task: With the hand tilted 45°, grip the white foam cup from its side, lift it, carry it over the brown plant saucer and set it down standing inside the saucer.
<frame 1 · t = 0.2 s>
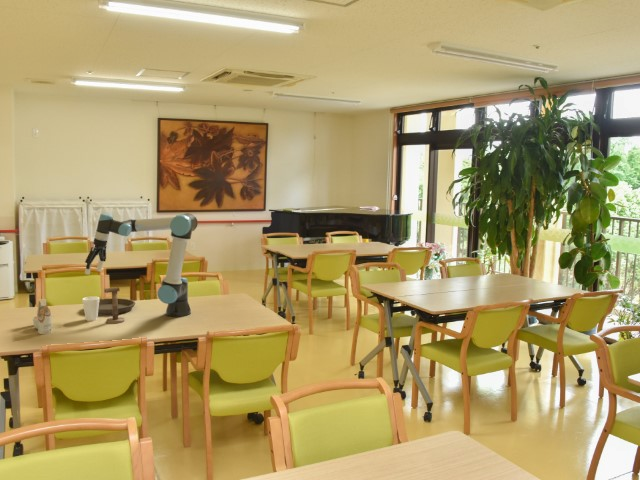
hand: (92, 272, 355), 27 cm above the table, tool pointing down, fingers open, 13 cm apart
foam cup: (91, 319, 351), on the table
walnut post: (115, 321, 348), on the table
plant saucer: (109, 310, 375), on the table
cosmetic set: (42, 328, 331), on the table
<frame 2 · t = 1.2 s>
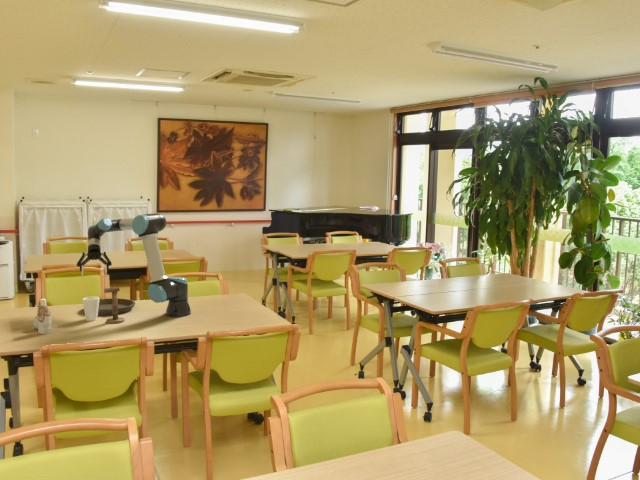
hand: (94, 274, 362), 24 cm above the table, tool tilted 45°, fingers open, 13 cm apart
nothing on the table moved.
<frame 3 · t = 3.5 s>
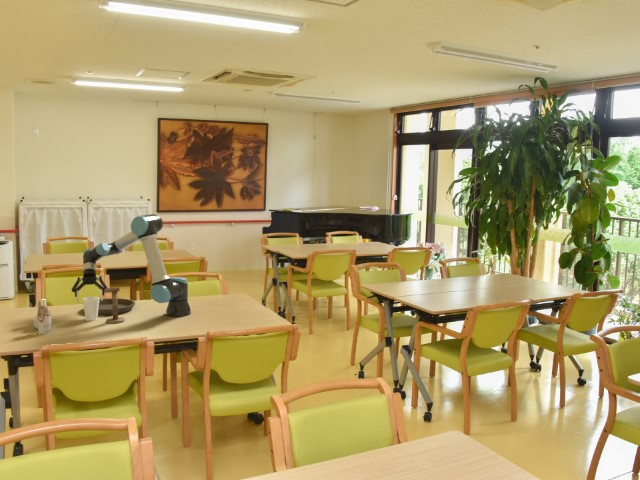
hand: (89, 300, 354), 11 cm above the table, tool tilted 45°, fingers open, 13 cm apart
nothing on the table moved.
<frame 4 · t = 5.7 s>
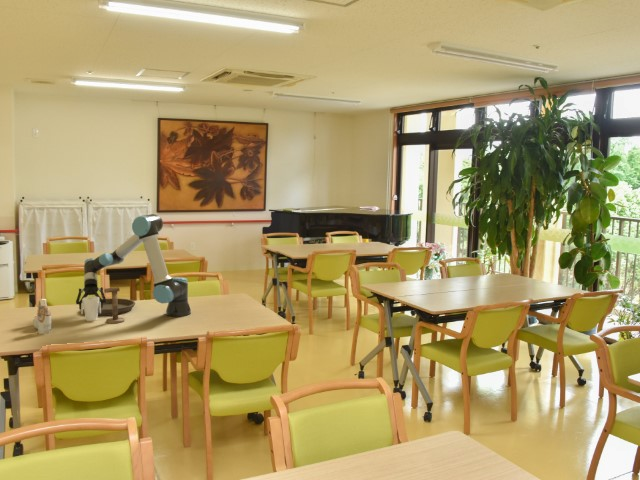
hand: (91, 312, 347), 5 cm above the table, tool tilted 45°, fingers closed on foam cup, 9 cm apart
foam cup: (91, 319, 351), on the table, touching gripper
everything else where it was.
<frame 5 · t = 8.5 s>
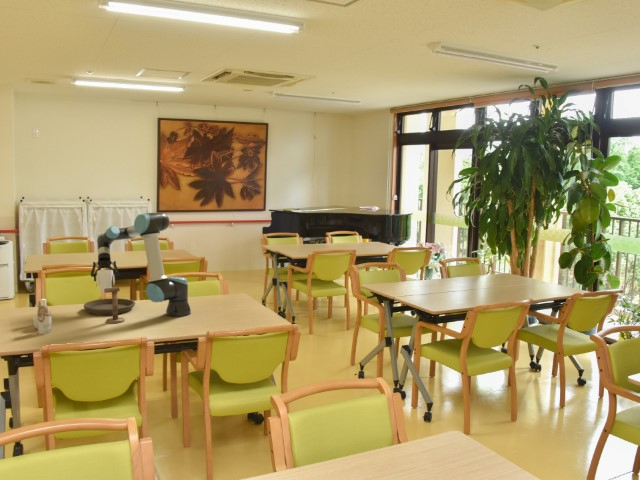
hand: (105, 284, 366), 18 cm above the table, tool tilted 45°, fingers closed on foam cup, 9 cm apart
foam cup: (105, 291, 369), point 13 cm above the table, touching gripper
everything else where it was.
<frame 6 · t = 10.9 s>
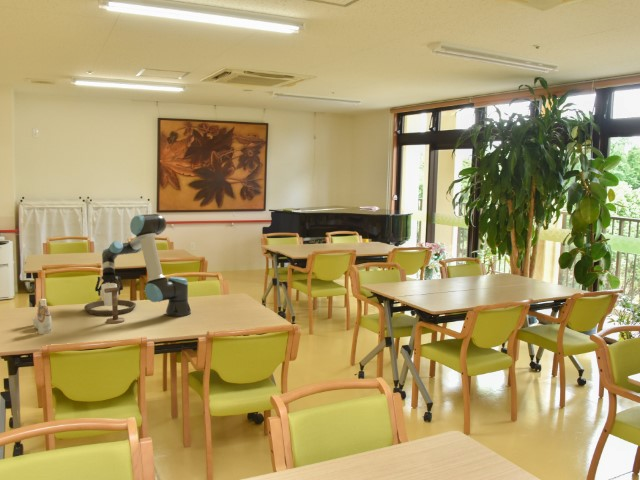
hand: (109, 299, 371), 8 cm above the table, tool tilted 45°, fingers closed on foam cup, 9 cm apart
foam cup: (109, 305, 374), point 3 cm above the table, touching gripper, plant saucer
plant saucer: (110, 311, 375), on the table, touching foam cup
everything else where it was.
when the fingers open (7 cm above the table, at t = 11.4 s): foam cup stays where it is, resting on plant saucer.
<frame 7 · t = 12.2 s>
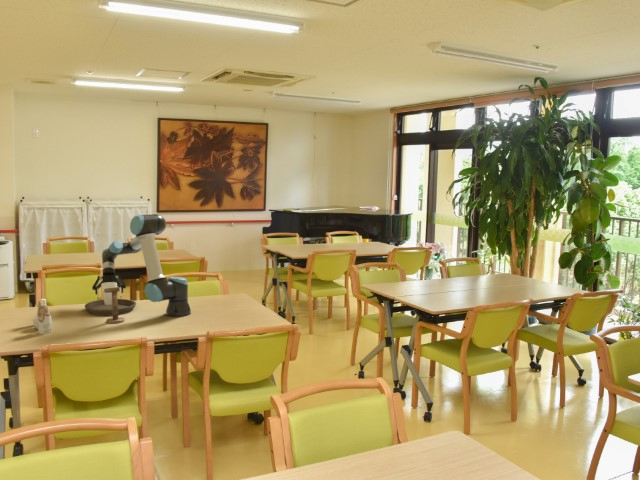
hand: (109, 297, 372), 8 cm above the table, tool tilted 45°, fingers open, 13 cm apart
foam cup: (109, 303, 374), point 4 cm above the table, touching plant saucer
everything else where it was.
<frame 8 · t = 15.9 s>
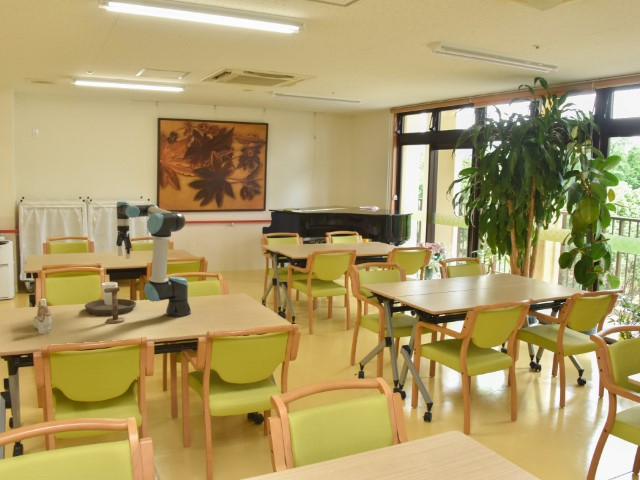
hand: (124, 257, 385), 32 cm above the table, tool pointing down, fingers open, 13 cm apart
nothing on the table moved.
at the end: foam cup 0.4 cm from the plant saucer (horizontally); foam cup tilted 0°; the gripper is holding nothing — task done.
